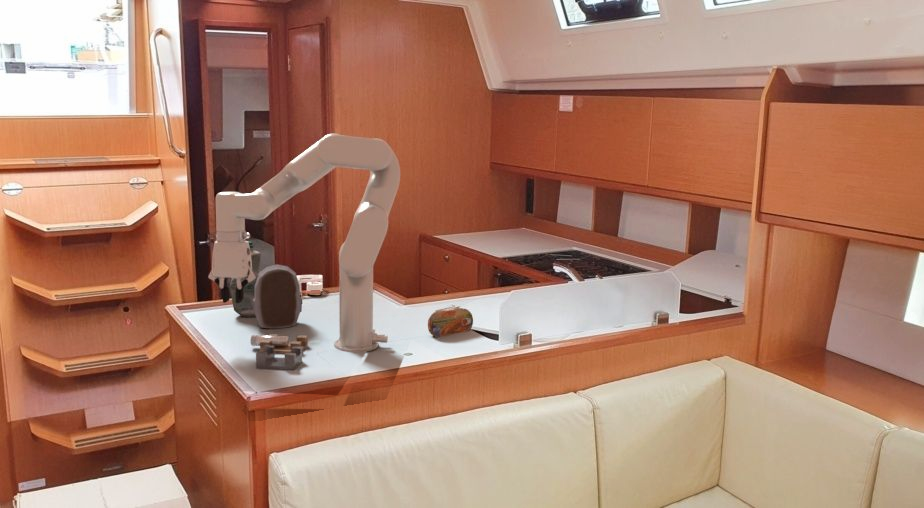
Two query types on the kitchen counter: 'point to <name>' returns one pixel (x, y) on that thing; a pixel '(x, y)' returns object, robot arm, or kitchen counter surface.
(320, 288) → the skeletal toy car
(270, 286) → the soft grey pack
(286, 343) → the steel axle
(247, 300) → the detergent
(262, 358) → the V-block
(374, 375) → the kitchen counter surface
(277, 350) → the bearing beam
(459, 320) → the tin
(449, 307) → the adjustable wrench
